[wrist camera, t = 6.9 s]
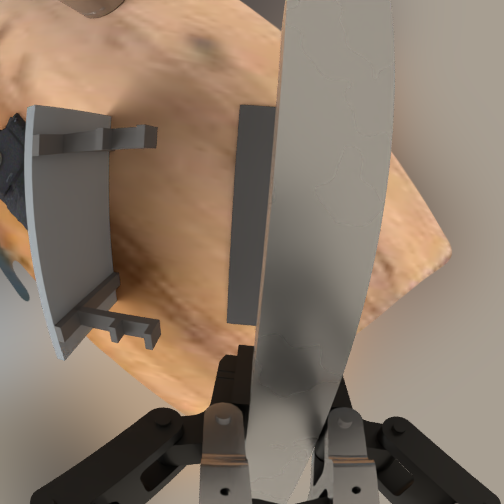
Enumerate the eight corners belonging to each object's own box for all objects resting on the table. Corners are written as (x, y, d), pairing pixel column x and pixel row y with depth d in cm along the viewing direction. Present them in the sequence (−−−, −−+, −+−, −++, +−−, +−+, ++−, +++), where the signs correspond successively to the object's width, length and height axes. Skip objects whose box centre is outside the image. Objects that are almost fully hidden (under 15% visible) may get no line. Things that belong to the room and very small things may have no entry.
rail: (281, 27, 7) (287, -21, 4) (356, 40, 7) (390, 0, 4) (237, 497, 15) (234, 530, 12) (270, 499, 15) (269, 532, 12)
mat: (240, 105, 33) (240, 104, 33) (320, 113, 33) (321, 112, 32) (227, 321, 43) (226, 323, 42) (294, 326, 43) (294, 328, 42)
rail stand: (104, 116, 34) (27, 107, 19) (188, 111, 34) (137, 85, 18) (110, 300, 43) (57, 358, 28) (184, 310, 42) (149, 383, 27)
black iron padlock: (43, 248, 41) (26, 257, 37) (-14, 175, 37) (-31, 178, 33) (79, 177, 37) (61, 181, 33) (15, 106, 33) (-3, 105, 29)
